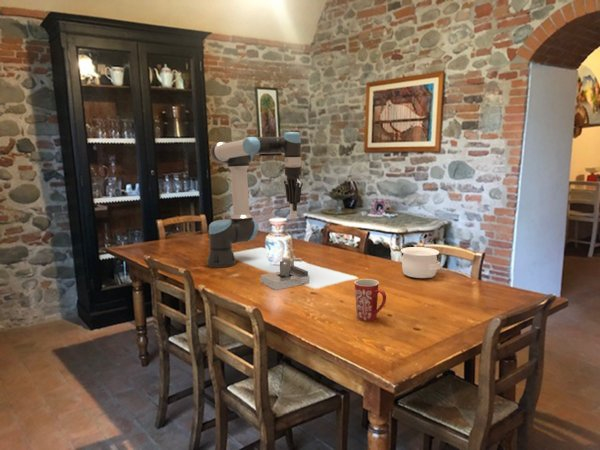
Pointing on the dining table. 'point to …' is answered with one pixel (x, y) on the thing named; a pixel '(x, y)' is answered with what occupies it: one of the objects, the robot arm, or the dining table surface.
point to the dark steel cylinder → (284, 269)
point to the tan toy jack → (292, 258)
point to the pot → (419, 262)
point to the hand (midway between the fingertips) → (293, 217)
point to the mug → (367, 299)
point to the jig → (286, 278)
